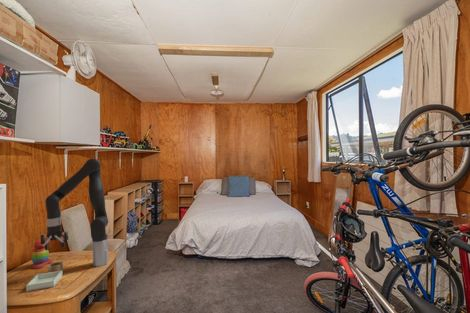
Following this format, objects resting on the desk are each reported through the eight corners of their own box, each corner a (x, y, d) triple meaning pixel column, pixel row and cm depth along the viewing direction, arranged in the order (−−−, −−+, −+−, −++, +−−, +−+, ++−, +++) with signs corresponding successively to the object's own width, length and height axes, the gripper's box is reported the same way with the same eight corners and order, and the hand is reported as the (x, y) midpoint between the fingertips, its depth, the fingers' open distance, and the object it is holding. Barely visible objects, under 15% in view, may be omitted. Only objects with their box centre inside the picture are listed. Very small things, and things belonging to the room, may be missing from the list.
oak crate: (63, 270, 152) (62, 261, 152) (59, 274, 146) (59, 265, 146) (52, 271, 150) (52, 262, 150) (48, 276, 144) (48, 267, 144)
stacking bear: (38, 269, 154) (38, 243, 154) (27, 268, 156) (26, 242, 156) (54, 261, 164) (53, 237, 164) (43, 260, 166) (42, 236, 166)
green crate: (62, 275, 145) (62, 270, 145) (53, 286, 132) (53, 280, 132) (37, 279, 140) (37, 274, 140) (26, 291, 128) (26, 285, 128)
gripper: (69, 221, 154) (69, 245, 154) (43, 224, 149) (44, 248, 149) (64, 224, 146) (65, 249, 147) (38, 227, 142) (38, 253, 142)
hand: (55, 248), depth 148 cm, fingers open, 8 cm apart
